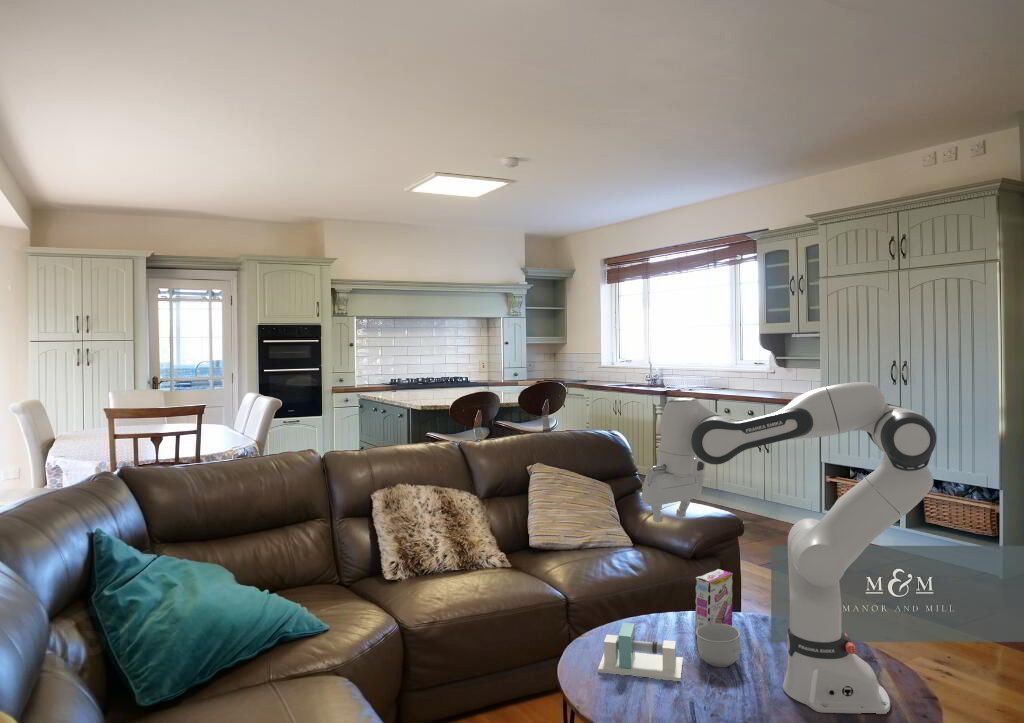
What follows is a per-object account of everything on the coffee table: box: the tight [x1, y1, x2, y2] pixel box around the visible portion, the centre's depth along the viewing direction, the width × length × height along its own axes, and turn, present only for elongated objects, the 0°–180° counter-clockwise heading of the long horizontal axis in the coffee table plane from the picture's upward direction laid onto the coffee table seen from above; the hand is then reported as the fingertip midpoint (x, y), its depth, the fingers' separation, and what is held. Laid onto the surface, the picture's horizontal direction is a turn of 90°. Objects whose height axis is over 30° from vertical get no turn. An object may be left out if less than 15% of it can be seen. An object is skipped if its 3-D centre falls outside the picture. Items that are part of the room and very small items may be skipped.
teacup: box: [695, 621, 741, 668], centre depth 186 cm, size 14×11×8 cm
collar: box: [618, 622, 636, 668], centre depth 183 cm, size 3×8×8 cm, turn 164°
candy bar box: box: [694, 568, 733, 636], centre depth 201 cm, size 11×5×16 cm, turn 130°
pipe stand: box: [597, 634, 684, 683], centre depth 183 cm, size 20×11×7 cm, turn 74°
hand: (669, 519), depth 176 cm, fingers open, 8 cm apart
